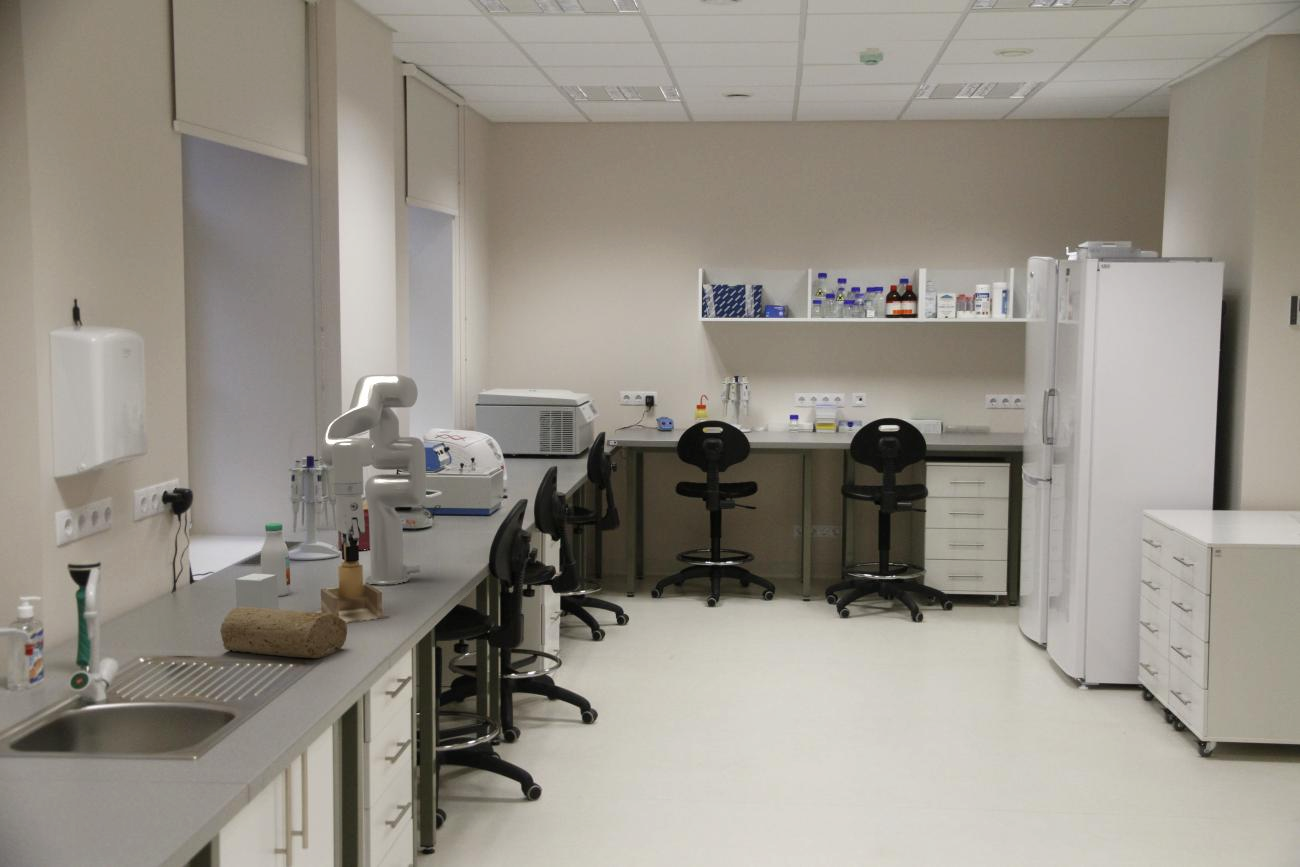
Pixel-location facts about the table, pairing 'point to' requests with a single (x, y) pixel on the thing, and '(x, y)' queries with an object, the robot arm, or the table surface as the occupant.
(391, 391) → the robot arm
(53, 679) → the table surface
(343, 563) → the bottle
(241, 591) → the supplement box
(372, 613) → the u rest
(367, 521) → the canister
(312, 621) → the core sample
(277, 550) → the milk bottle
